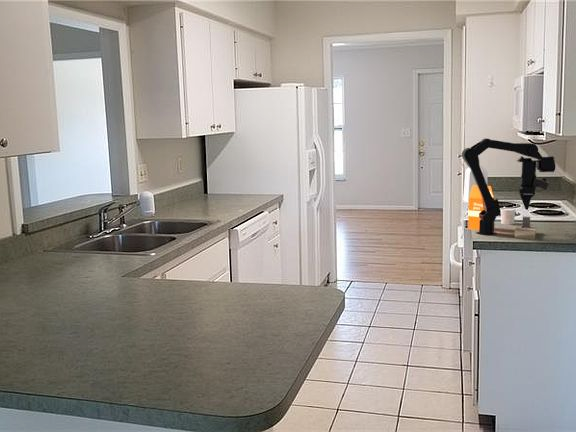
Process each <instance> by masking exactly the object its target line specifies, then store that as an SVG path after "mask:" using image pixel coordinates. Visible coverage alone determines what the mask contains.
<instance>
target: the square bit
mask: <svg viewBox="0 0 576 432" xmlns="http://www.w3.org/2000/svg"><path fill="white" fill-rule="evenodd" d="M521 225H522V228H530V226H531V216H522V224H521Z"/></svg>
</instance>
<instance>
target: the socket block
mask: <svg viewBox="0 0 576 432" xmlns="http://www.w3.org/2000/svg"><path fill="white" fill-rule="evenodd" d="M536 233H537V226H536V225H530V228H522V224H520V225H519V224H517V225H516V226H515V230H514V239H523V240H524V239H525V240H536V239H535V238H536Z"/></svg>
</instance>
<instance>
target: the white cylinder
mask: <svg viewBox="0 0 576 432" xmlns="http://www.w3.org/2000/svg"><path fill="white" fill-rule="evenodd" d="M516 211H517V210H516V209H514V208H500V222H501V225H507V226H508V225H514V224H515V219H516V218H515V217H516Z"/></svg>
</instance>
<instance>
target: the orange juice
mask: <svg viewBox="0 0 576 432" xmlns="http://www.w3.org/2000/svg"><path fill="white" fill-rule="evenodd" d="M487 186H488V189H489V191H490V193H491V196H492V197H493V198H494V194H493V189H492V186H491V185H487ZM483 209H484V208H483V202H482V197H481V194H480V192H479V189H478V187H477V185H473V186H472V189H471V193H470V196H469V203H468V210H467V211H468V212H467V213H468V218H467V219H468V220H467V229H468V230H474V231H475V230H477V231H479V224H480V219H481V218H480V217H479V213H480V212H481V211H482V210H483Z"/></svg>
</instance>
